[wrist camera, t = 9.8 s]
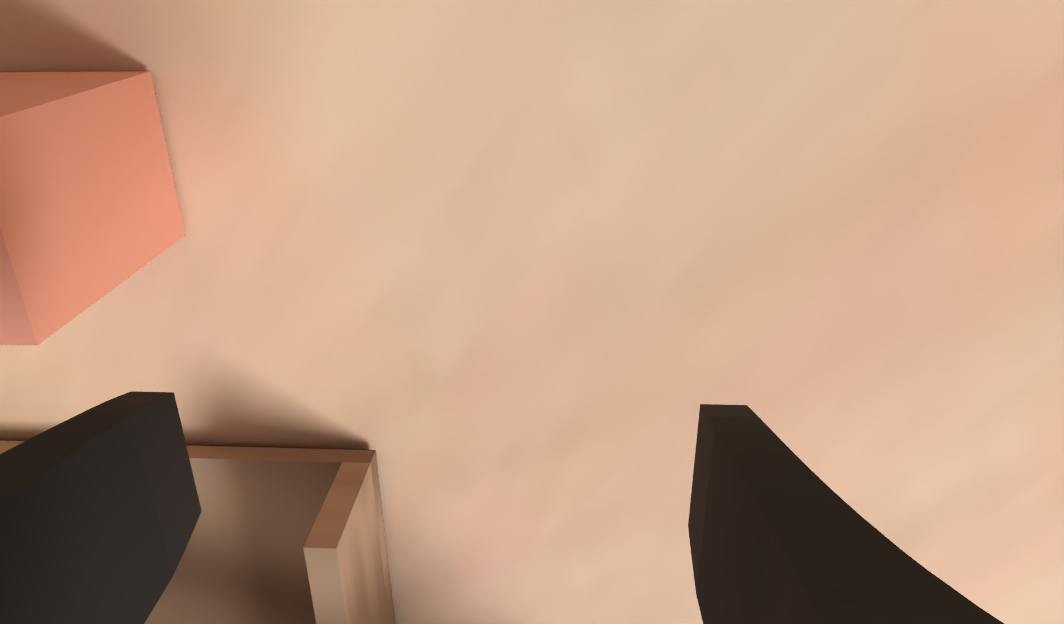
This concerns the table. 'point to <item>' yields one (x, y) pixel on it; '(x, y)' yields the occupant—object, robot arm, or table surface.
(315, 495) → the box
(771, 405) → the table surface
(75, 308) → the block
